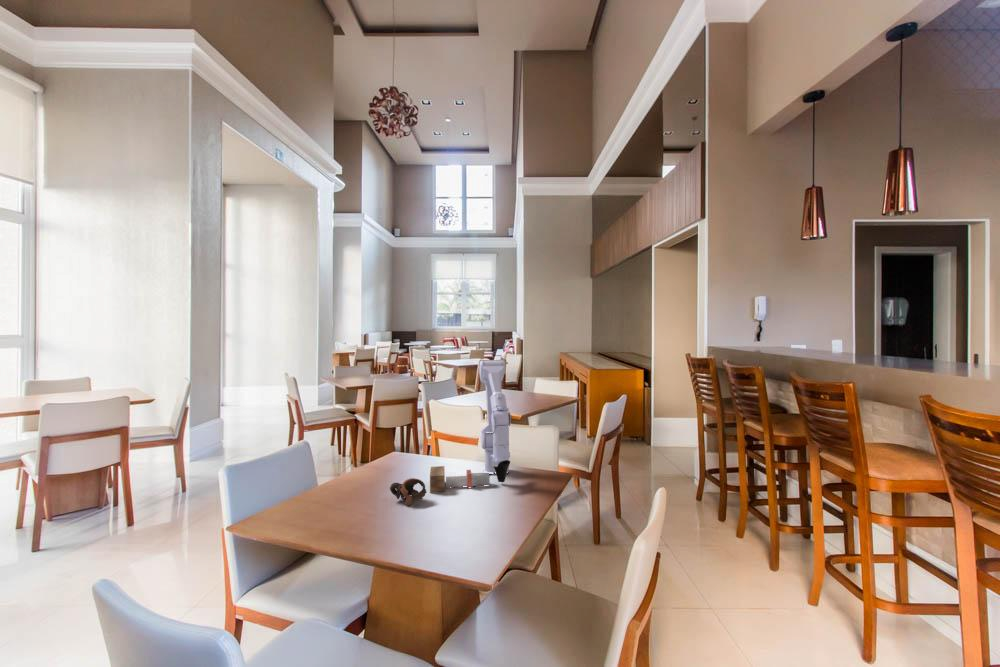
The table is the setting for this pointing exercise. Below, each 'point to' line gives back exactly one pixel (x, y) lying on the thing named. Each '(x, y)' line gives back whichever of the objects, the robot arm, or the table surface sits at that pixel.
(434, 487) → the walnut block
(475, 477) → the grey and red block
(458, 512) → the table surface
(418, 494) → the brown ringed sculpture
